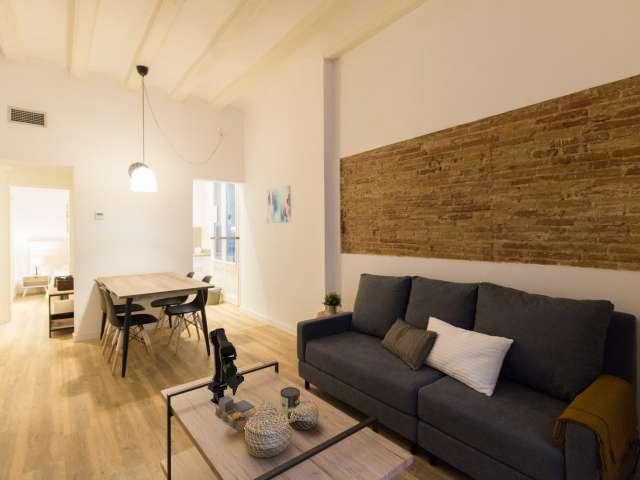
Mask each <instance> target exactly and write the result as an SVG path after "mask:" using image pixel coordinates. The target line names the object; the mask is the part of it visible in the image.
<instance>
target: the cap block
mask: <svg viewBox="0 0 640 480" xmlns="http://www.w3.org/2000/svg"><path fill="white" fill-rule="evenodd" d="M234 400H235V399H234V398H232V397H230V396H229V395H224V397H222V398H220V400H219V403H218V406H219V409H221V410H222V411H224V412H227V411H230V410H232V409H234V404H235V403H234Z"/></svg>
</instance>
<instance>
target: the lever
mask: <svg viewBox="0 0 640 480" xmlns="http://www.w3.org/2000/svg"><path fill="white" fill-rule="evenodd" d="M243 417H244V416H243V415H241V414H240V413H238V412H236V413H234V414H230V415H228V418H229V419H231V420H236V419H239V418H243Z"/></svg>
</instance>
